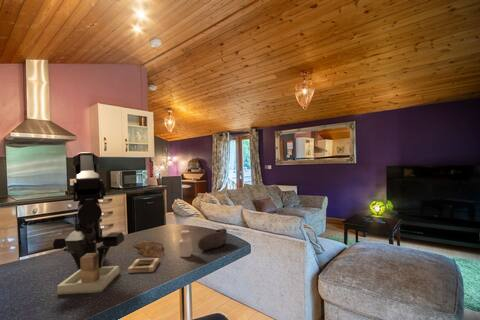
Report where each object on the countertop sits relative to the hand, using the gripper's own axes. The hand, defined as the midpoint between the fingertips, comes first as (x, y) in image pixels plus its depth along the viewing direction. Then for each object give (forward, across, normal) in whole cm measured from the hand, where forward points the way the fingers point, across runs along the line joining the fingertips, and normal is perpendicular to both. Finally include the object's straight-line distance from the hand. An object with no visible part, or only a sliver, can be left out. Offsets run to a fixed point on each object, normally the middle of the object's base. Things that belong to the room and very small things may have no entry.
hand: (90, 268), depth 77 cm
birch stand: (+5, +13, +10) cm, 17 cm away
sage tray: (+5, 0, 0) cm, 5 cm away
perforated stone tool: (+5, +36, +27) cm, 45 cm away
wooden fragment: (+5, +10, +28) cm, 30 cm away
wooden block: (+4, 0, 0) cm, 4 cm away
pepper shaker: (+5, +26, +19) cm, 33 cm away
